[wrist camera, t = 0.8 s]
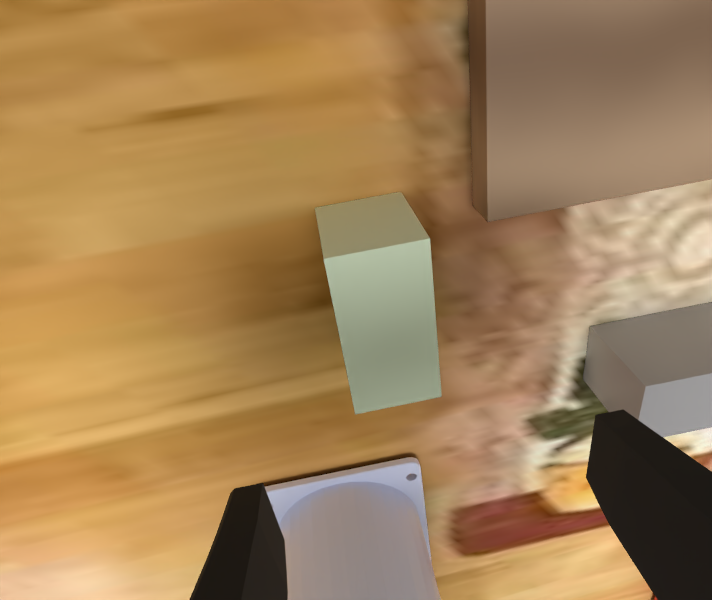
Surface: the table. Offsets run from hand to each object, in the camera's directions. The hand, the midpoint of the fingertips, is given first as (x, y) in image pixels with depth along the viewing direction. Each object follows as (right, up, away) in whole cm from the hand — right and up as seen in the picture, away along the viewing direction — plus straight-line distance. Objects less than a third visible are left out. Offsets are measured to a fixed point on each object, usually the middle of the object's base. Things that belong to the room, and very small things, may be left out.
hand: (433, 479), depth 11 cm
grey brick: (+11, +2, +12) cm, 16 cm away
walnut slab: (+6, +12, +5) cm, 14 cm away
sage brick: (-1, +5, +8) cm, 9 cm away
